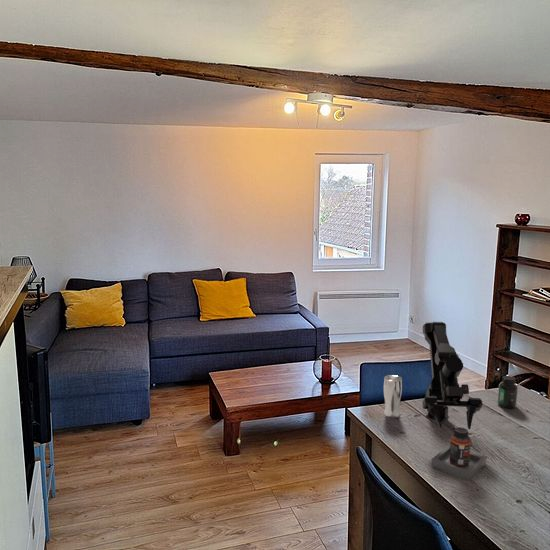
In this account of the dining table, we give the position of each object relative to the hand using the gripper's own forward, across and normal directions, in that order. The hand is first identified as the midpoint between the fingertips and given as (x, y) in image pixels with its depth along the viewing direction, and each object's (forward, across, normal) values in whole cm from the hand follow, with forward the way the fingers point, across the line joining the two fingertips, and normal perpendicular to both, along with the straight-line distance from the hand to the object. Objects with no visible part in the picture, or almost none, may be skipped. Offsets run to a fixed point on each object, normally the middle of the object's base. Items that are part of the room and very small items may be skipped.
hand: (455, 428), depth 167 cm
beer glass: (-13, -17, +27) cm, 34 cm away
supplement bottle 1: (+11, 0, +1) cm, 11 cm away
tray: (+12, 0, +1) cm, 12 cm away
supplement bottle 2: (-22, +30, +36) cm, 52 cm away
